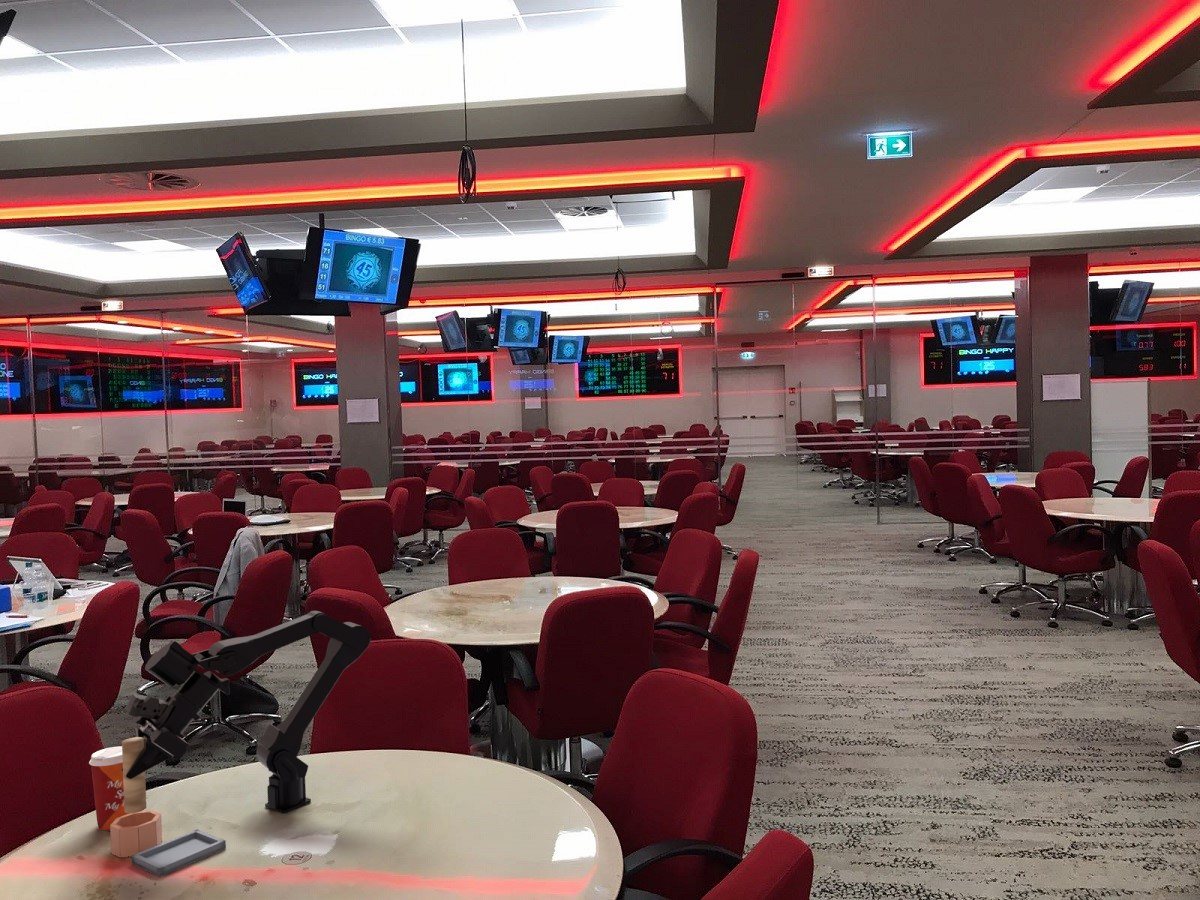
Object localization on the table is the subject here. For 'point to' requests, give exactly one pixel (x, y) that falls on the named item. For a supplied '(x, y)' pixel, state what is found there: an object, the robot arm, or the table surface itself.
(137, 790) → the oak peg
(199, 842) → the slate tray
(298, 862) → the table surface
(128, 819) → the pot
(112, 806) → the paper cup
